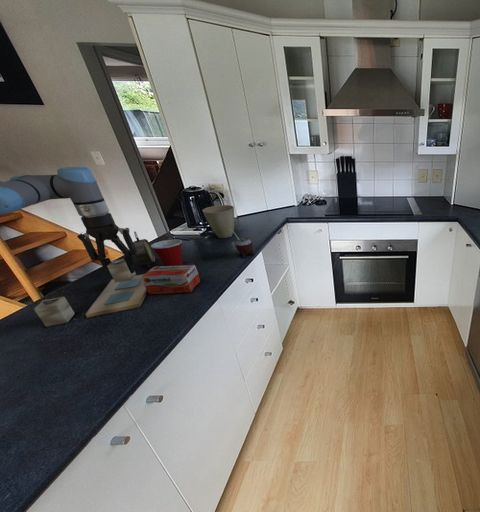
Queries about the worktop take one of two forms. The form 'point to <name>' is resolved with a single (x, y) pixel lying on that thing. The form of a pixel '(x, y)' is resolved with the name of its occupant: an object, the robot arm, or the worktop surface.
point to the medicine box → (171, 279)
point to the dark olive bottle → (144, 252)
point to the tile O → (120, 271)
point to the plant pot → (220, 219)
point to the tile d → (54, 311)
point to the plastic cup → (169, 252)
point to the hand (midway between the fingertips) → (123, 273)
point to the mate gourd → (243, 246)
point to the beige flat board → (119, 297)
